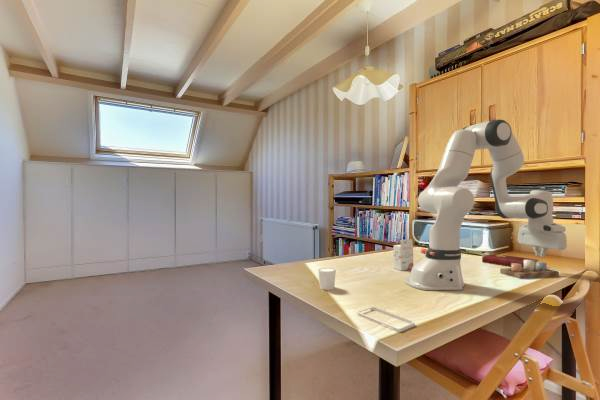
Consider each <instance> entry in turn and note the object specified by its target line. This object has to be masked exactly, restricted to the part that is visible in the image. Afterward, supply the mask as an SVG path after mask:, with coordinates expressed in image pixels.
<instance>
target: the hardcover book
mask: <svg viewBox="0 0 600 400" xmlns="http://www.w3.org/2000/svg"><path fill="white" fill-rule="evenodd" d="M524 260H533V261H534V267H536V262H540V261H539V259H536V258H530V257H529V258H528V257H523V256H515V255H508V254H507V255H506V254H499V253H489V254H483V255H482V256H481V262H482V263H484V264H491V265H495V266H503V267H508V268H511V263H518V264H522V267H524Z"/></svg>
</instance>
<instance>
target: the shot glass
mask: <svg viewBox="0 0 600 400" xmlns="http://www.w3.org/2000/svg"><path fill="white" fill-rule="evenodd" d="M336 271H337V270H336V269H334V268H329V267H323V268H319V269H318V270H317V272H318V283H319V289H320V290H323V291H324V290H326V291H330V290H334V289H335V284H336V283H335V282H336Z"/></svg>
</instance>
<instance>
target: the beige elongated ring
mask: <svg viewBox="0 0 600 400" xmlns="http://www.w3.org/2000/svg"><path fill="white" fill-rule="evenodd" d="M367 310H369V311H375V312H378V313H381V314H384V315H386V316H389V317H391V318H395V319H397V320H398V321H401V322H405V323H406V325H404V326H402V327H396V326H393V325H391V324H389V323H386V322H383V321H381V320H379V319H376V318H374V317H372V316H370V315H366V314H364V313H362V312H364V311H367ZM356 314H357V316H358V317H361V318H363V319H366V320H368V321H370V322H373V323H375V324H378V325H379V326H380V325H384V326H386V327H389V328H391V329H392V330H393V331H395V332H397V333H401V332H403V331H405V330H408V329H411V328H412V327H415V321H413V320H410V319H407V318H405V317H402V316H399V315H397V314H394V313H391V312H389V311H386V310H382V309H380V308H378V307H376V306H371V307H367V308H364V309H362V310H358V311H357V312H356ZM407 323H408V324H407Z"/></svg>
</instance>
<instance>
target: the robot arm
mask: <svg viewBox="0 0 600 400" xmlns="http://www.w3.org/2000/svg"><path fill="white" fill-rule="evenodd" d="M444 148H445V149H444V151H443V153H442V157H441V159H440V160H441V161H440V163H439V166H438V167H437V168H438V169H437V171H436V173H435V175H434V176H433V178H432V179H431V181H430V182H429V184H428V185H427V186H426V188H424V190H422V191H421V192H420V193H419V195H418V196H417V197H418V198H417V203H418V206H419V208H420V209H421V210H422V211H425V212H427V213H429V214H436V218H435V221H434V223H433V224H432V225H431V226H430V228H429V230H428V231H429V233H428V234H429V236H428V237H429V239H428V240H429V241H428V242H429V246H428V248H426V249H425V248H423V247H422V248H421V254H423V255H425V257H423V258H422V259H421V260H420V261H418V262H417V263H416V264H415V265H413V267H412V269H410V270H411V271H410V277H406V278H405V279H404V283H406V284H407V285H408V286H410V287H413V288H414V289H418V290H423V291H462V290H463V287H465V285H466V284H465V282H464V279H463V274H462V266H461V259H462V250H461V248H460V247H461V244H460V243H461V242H460V241H461V235H460V234H461V228H462V224H463V221H464V220H465V217H466V216H467V214H468V213H469V212H470V211H471V210H473V208H474V205H475V197H474V194H473V192H472V191H471V190H469V189H468V188H466V187H461V186H459V185H460V184H461V183H462V182H463V181H464V180H466V178H468V175H469V173H470V169H471V166H472V163H473V160H474V155H475V154H476V153H475V152H476V150H477V151H478V150H486V149H487V150H488V153H489V155H490V159H491V162H492V168H491V170H490V173H489V176H490V181H491V182H490V183H491V187H492V192H493V193H492V194H493V197H494V204H495V205H494V207H495V208H494V209H495V212H496V214H497V215H498V216H499V217H500V218H501V219H506V220H507V219H509V220H510V219H519V220H525V219H526V220H527V223H528V224H522V225H520V226H519V228H518V229H519V230H518V234H517V242H518V244H521V245H527V246H532V249H533V252H534V253H535V257H540V258H546V253H547V251H548V249H553V250H557V251H560V250H561V251H563V250H564V251H565V250H566V248H567V246H568V245H567V241H568V240H567V234H566V233H565V232H566V226H563V225H561V224H558V223H556V222H554V217H553V212H554V198H553V194H552V192H550V191H549V190H545V189H534V190H533V189H532V190H530V192H529V194H528V195H526V196H523V197H513V196H510V195H509V192H508V187H507V181H506V180H507V178H508V177H510V176H512V175H514V174H516V173H517V172H519V171H520V170H521V169H522V167H523V166H524V165H525V164H524V163H525V156H524V153H523V151H522V148H521V146H520V144H519V142H518V140H517V138H516V137H515V135H514V134H513V132H512V127H511V125H510V124H509V122H508V121H506V120H504V119H492V120H488V121H483V122H477V123H474V124H472V125H469V126H468V125H467V126H465V127H463V128H461V129H457V130H455V131H454V132H453V133H452V134H451V135H450V137H449V140H448V141H447V144H446V146H445V147H444ZM540 250H541V251H540Z"/></svg>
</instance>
